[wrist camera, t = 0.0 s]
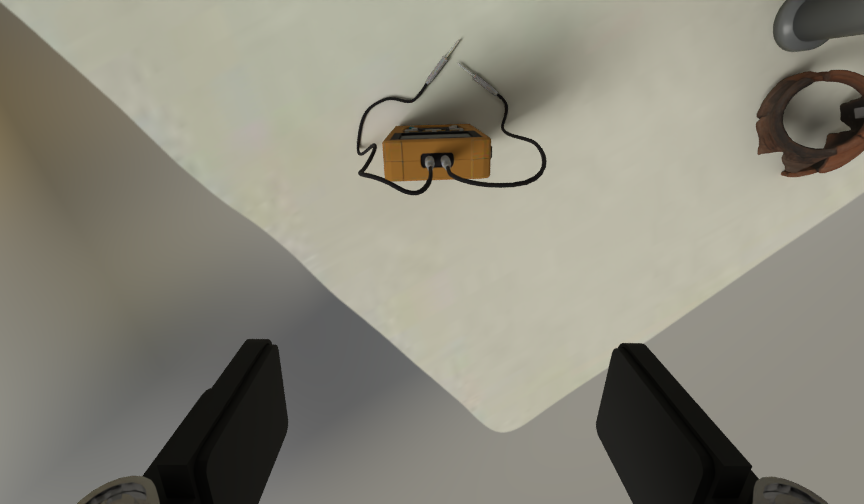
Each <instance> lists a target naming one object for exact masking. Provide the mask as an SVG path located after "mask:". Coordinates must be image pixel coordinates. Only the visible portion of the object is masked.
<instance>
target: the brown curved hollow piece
mask: <svg viewBox="0 0 864 504" xmlns="http://www.w3.org/2000/svg"><path fill="white" fill-rule="evenodd" d="M816 81H827V82H839V83H844V84H847V85H849V86H851V87H853V88H854V89H856V90H857V91H858V92H859V93H860V94H861V95H862V97H861V98H858V99H856V100H851V101H850V102H848V103H843V104H842V105H841V106H840V111H841V117H840V119H841V121H842V122H844V123H845V124H846V125H848V126H849V127H850V128H851V130H849V131H843V132H840V133H831V134H828V135H827V140H826V144H825V146H824V148H823V149H815V148H809V147H805V146H802V145H800V144H798V143H796V142H794V141H792V139H791V138H790V137H789V136H788V134H787V132H786V131H785V128H784V125H783V114H784V110H785V109H786V106H787V104H788V103H789V101H790V100H791V99H792V97H793V96H794V95H795V94H797V93H798V92H799V91H800V90H802V89H803V88H805V87H807V86H809V85H811V84H812V83H813V82H816ZM757 118H759V119H760V120H759V121H757V123H756V130H757V133H758V137H759V147H758V155H760V154H765V153H772V152H783V156H782V162H783V164H784V165H785V170H786V171H783V172H782V173H781V175H783V176H787V177H801V176H805V175H810V174H814V173H817V172H819V173H826V172H829V171H833V170H835V169H838V168H840V167H842V166H843V165H845V164H847V163H848V162H850V161H851V160H853V159H854V158H855V157H857V156H858V155H859V154H861V153H862V152H863V151H864V76H863V75H860V74H858V73H855V72H851V71H848V70H830V71H829V72H818V73H816V72H811V71H807V72H803V73H799V74H796V75H793V76H790V77H788V78H785V79H783V80H782V81H780V82H779V83H777V85H776V86H775V87H774V88H773V89H772V90H771V91H770V93H769V94H768V95H767V97H766V98H765V99H764V101H763V103H762V104H761V107H760V109H759V111H758V112H757Z"/></svg>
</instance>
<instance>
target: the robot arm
mask: <svg viewBox="0 0 864 504" xmlns="http://www.w3.org/2000/svg"><path fill="white" fill-rule="evenodd" d="M287 428H288V416H287V409H286V401H285V394H284V387H283V379H282V372H281V365H280V357H279V350H278V347H277V345H272V342H271V341H270V340H269V339H247V340H246V341H245V343H244V344H243V345H242V347H241V348H240V349H239V351H238V352H237V354H236V355H235V356H234V358H233V359H232V361H231V362H230V363H229V365H228V366H227V367H226V369H225V370H224V372H223V373H222V374H221V376H220V377H219V379H218V380H217V381H216V383H215V384H214V385H213V387H212V388H210V389H208V390H206V391H205V392H204V393H203V394H202V396H201V397H200V398H199V400H198V401H197V402H196V404H195V405H194V407H193V408H192V410H191V411H190V412H189V413H188V415H187V416H186V418H185V419H184V420H183V422H182V423H181V424H180V426H179V427H178V428H177V430H176V431H175V432H174V434H173V435H172V437H171V438H170V439H169V441H168V442H167V443H166V445H165V446H164V447H163V449H162V450H161V452H160V453H159V454H158V456H157V457H156V458H155V460H154V461H153V462H152V464H151V465H150V466H149V468H148V469H147V471H146V472H145V473H144V475H143V476H128V477H123V478H119V479H116V480H114V481H111V482H108V483H106V484H104V485H102V486H100V487H99V488H97V489H95V490H93V491H92V492H91V493H89V494H88V495H87V496H85V497H84V498H83V499H82V500H80V501H79V502H78V503H77V504H258V503H259V501H260V498H261V496H262V493H263V490H264V488H265V486H266V483H267V481H268V478H269V476H270V473H271V471H272V468H273V466H274V463H275V461H276V458H277V456H278V453H279V451H280V448H281V446H282V443H283V441H284V438H285V436H286V433H287ZM596 429H597V433H598V436H599V438H600V440H601V441H602V444H603V446H604V448H605V450H606V452H607V453H608V456H609V458H610V460H611V462H612V463H613V465H614V467H615V469H616V471H617V473H618V475H619V477H620V479H621V481H622V483H623V485H624V487H625V489H626V491H627V493H628V495H629V497H630V499H631V501H632V502H633V504H828V503H827V502H826V501H825V500H823V499H822V498H821V497H819V496H818V495H816V494H815V493H814V492H812V491H810V490H809V489H807V488H805V487H803V486H801V485H799V484H797V483H794V482H792V481H789V480H786V479H782V478H777V477H763V478H761V479H758V477H757V476H756V475H755V474H754V473H753V472H752V471H751V468H752V465H751V464H750V463H749V462H748V461H747V460H746V458H745V457H744V456H743V455H742V454H741V453H740V452H739V451H738V450H737V448H736V447H735V446H734V445H733V444H732V443H731V442H730V440H729V439H728V438H727V437H726V436H725V435H724V434H723V432H722V431H721V430H720V429H719V428H718V427H717V426H716V425H715V423H714V422H713V421H712V420H711V419H710V418H709V417H708V416H707V414H706V413H705V412H704V411H703V410H702V409H701V407H700V406H699V405H698V404H697V403H696V402H695V401H694V400H693V398H692V397H691V396H690V395H689V394H688V393H687V392H686V390H685V389H684V388H683V387H682V386H681V385H680V384H679V383H678V381H677V380H676V379H675V378H674V377H673V376H672V375H671V374H670V372H669V371H668V370H667V369H666V368H665V367H664V365H663V364H662V363H661V362H660V361H659V360H658V359H657V358H656V356H655V355H654V354H653V353H652V352H651V351H650V350H649V348H647V346H646V345H644V344H642V343H622V344H620V345H619V347H618V348H616V349H614V350H613V352H612V356H611V360H610V364H609V369H608V373H607V377H606V382H605V387H604V391H603V395H602V399H601V404H600V408H599V412H598V417H597V421H596Z"/></svg>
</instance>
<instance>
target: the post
mask: <svg viewBox="0 0 864 504" xmlns="http://www.w3.org/2000/svg"><path fill="white" fill-rule="evenodd" d="M773 34H774V39H775V41H776V43H777V45H778V46H779V47H780V48H782V49H783V50H785V51H789V52H797V51H806V50H811V49H815V48H817V47H819V46H821V45H822V44H824V43H825V42H826V41H828V40H829V39H832V38H840V37H847V36H855V35H862V34H864V0H786V1H785V2H784V3H783V5H782V6H781V8H780V9H779V11H778V13H777V15H776V18H775V21H774V26H773Z"/></svg>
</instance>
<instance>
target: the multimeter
mask: <svg viewBox="0 0 864 504" xmlns="http://www.w3.org/2000/svg"><path fill="white" fill-rule="evenodd" d="M459 40H460V39H459ZM459 40H458V41H457V42H456V43H455V44H454V46H453V47H452V48H451V50H450V51H449V52H448V54H447V55H446V56H445V57H444V56H443V57H442V59H441V60H440V62H439V63H438V65H437V66H436V67H435V69H434V70H433V71H432V73H431V74H430V75H429V77H428V79H427V80H426V83H425V85H424V86H423V88H422V89H421V91H420V92H419V93H418V94H417V96H416V97H415V98H414V99H412V100H403V99H399V98H392V97H389V98H384V99H382V100H379V101H378V102H376V103H374V104H372V105H371V106H370V107H369V108H368V109H367V110H366V111H365V113H364V115H363V117H362V119H361V122H360V126H359V131H358V139H357V153H358V155H361V156H362V155H364V154H365V153H367V152H368V151H369V150H370V149H371V148H373V150H372V152H371V154H370V156H369V158H368V160H367V162H366V163H365V165H364V166H363V168H362V169H361V170H360V171H359V172H358V174H359V175H360V176H362V177H366V178H371V179H374V180H377V181H380V182H383V183H385V184H387V185H389V186H391V187H393V188H395V189H396V190H398V191H400V192H402V193H404V194H408V195H419V194H422V193H424V192H425V191H426V190H427V189H428V188H429V186H430V184H431V181H432V180H448V179H455V180H457V181H460V182H463V183H467V184H470V185H476V186H483V187H499V188H502V187H516V186H522V185H527V184H529V183H532V182H534V181H536V180H537V179H538V178H539V177H540V176H541V175H542V174H543V172H544V170H545V168H546V156H545V153H544V151H543V149H542V148H541V147H540V145H539V144H538V143H537V142H536V141H534V140H532V139H529V138H526V137H522V136H518V135H514V134H511V133H509V132H507V131H506V130H505V129H504V123H505V120H506V117H507V112H508V105H507V102H506V101H505V99H504V98H503V97H502V96H501V95H500V94H499V93H498V92H497V91H496V90H495V89H494V88H493V87H492V86H491V85H489V84H488V83H487V82H486V81H484V80H483V79H482V78H481V77H479V76H478V75H477V73H476V74H475V75H474V74H473V73H472V72H470V71H469V70H468V69H467V68H465V67H464V66H463V65H461V64H460V63H458V65H459V66H460V67H462V68H463V69H464V70H465V71H467V72H468V73H469V74H470V75H472V76H473V78H472V79H473V80H475V81H477V82H478V83H479V84H480V85H482V86H483V87H484V88H485V89H487V90H488V91H489V92H491V93H492V94H494V95H497V96H498V97H499V98H500V99H501V100H502V101H503V102H504V104H505V114H504V118H503V121H502V124H501V129H502V131H503V132H504V133H505V134H506V135H508V136H511V137H514V138H517V139H521V140H524V141H527V142H530V143H532V144H534V145H535V146H536V147H537V148H538V150H539V152H540V154H541V157H542V167H541V169H540V171H539V172H538V173H537V174H536V175H535V176H534V177H531V178H529V179H527V180H525V181H519V182H513V183H487V182H479V181H473V180H469V179H481V178H488V177H489V176H490V159H491V158H492V146H491V139H490V138H489V137H488V136H487V135H485V134H484V133H482V132H481V131H479V130H478V129H476V128H475V127H473V126H471V125H470V124H449V125H417V126H396V127H395V128H394V129H393V130H392V131H391V133H390V134H389V135H388V136H387V138H386V139H385V140H384V141H383V143H382V144H383V158H384V172H385V178H382V177H379V176H377V175H373V174H369V173H364V171H365V170H366V169H367V167H368V166H369V164H370V162H371V161H372V159H373V157H374V154H375V152H376V149H377V145H376V144H375V143H374V144H372V145H370V146H369V147H368V148H367V149H366V150H365V151H363V152H362V153H360V151H359V143H360V134H361V129H362V125H363V121H364V119H365V116H366V114H367V113H368V112H369V110H370V109H371V108H373V107H374V106H376V105H377V104H379V103H381V102H384V101H386V100H396V101H400V102H404V103H412V102H414V101H415V100H416V99H417V98H418V97H419V96H420V95H421V93H422V92H423V91H424V89H425V88H426V86H427V85H428V84H430V83H431V82H432V81H433V79H434V78H435V76H436V75H437V74H438V72H439V71H440V70H441V68H442V67H443V66H444V64H445V63H446V62H447V61H448V60H447V57H448V56H449V55H450V53H451V52H452V51H453V49H454V48H455V47H456V45H457V44H458V42H459ZM417 180H427V181H426V184H425V185H424V186H423V187H422V188H421V189H419V190H417V191H410V190H406V189H404V188H402V187H400V186H398V185H396V184H394V183H393V182H391V181H417Z"/></svg>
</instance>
